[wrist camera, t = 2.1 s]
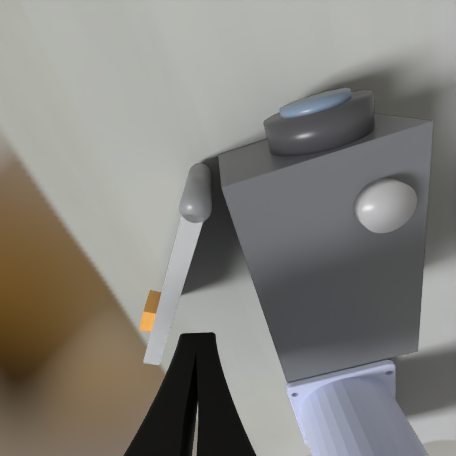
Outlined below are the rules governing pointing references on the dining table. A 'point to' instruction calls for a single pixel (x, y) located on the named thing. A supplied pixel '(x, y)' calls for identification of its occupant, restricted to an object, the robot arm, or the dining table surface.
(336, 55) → the dining table surface
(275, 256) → the camera body
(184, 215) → the side door
